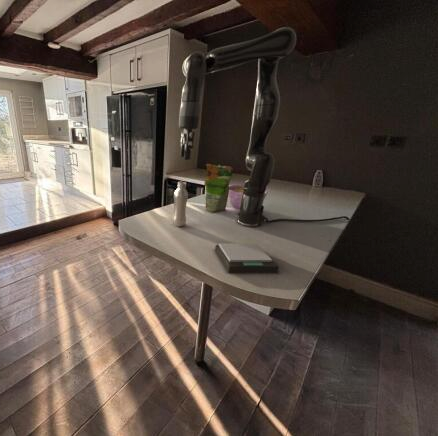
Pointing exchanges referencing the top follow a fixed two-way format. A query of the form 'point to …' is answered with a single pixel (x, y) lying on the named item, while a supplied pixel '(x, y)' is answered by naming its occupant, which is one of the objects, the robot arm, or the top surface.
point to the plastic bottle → (180, 204)
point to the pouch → (217, 187)
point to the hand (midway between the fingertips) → (184, 158)
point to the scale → (245, 258)
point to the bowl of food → (237, 195)
